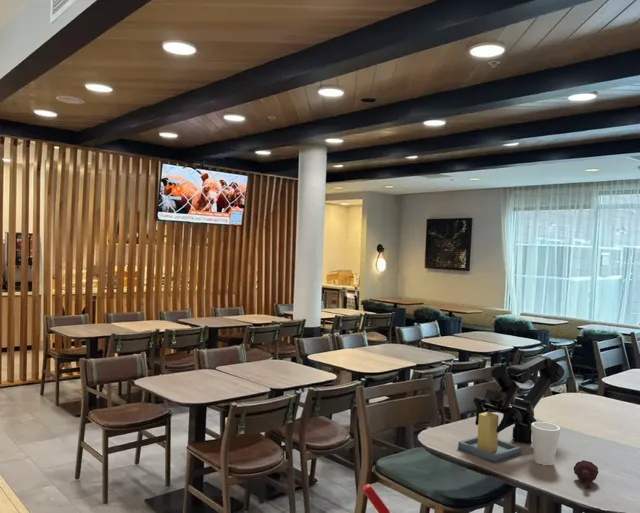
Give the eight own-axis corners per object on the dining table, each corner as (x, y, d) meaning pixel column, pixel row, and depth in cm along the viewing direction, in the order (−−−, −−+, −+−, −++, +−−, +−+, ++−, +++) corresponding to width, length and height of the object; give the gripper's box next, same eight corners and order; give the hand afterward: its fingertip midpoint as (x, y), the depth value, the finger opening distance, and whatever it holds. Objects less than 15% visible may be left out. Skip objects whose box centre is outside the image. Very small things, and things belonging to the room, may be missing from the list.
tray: (485, 440, 210) (485, 434, 210) (521, 454, 197) (521, 447, 197) (458, 448, 201) (458, 441, 201) (494, 463, 188) (494, 456, 188)
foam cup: (561, 469, 185) (562, 431, 185) (532, 465, 187) (534, 429, 187) (554, 458, 194) (556, 423, 194) (527, 455, 196) (529, 420, 196)
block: (485, 445, 202) (487, 411, 201) (497, 450, 198) (498, 415, 197) (477, 448, 199) (478, 413, 199) (488, 453, 195) (490, 417, 195)
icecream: (571, 451, 185) (571, 471, 171) (594, 450, 181) (596, 470, 168) (576, 471, 185) (576, 492, 171) (599, 470, 181) (602, 492, 168)
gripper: (476, 376, 208) (456, 408, 202) (519, 387, 193) (499, 423, 187) (488, 393, 213) (469, 425, 207) (530, 405, 198) (511, 441, 191)
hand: (486, 428), depth 198 cm, fingers open, 9 cm apart
